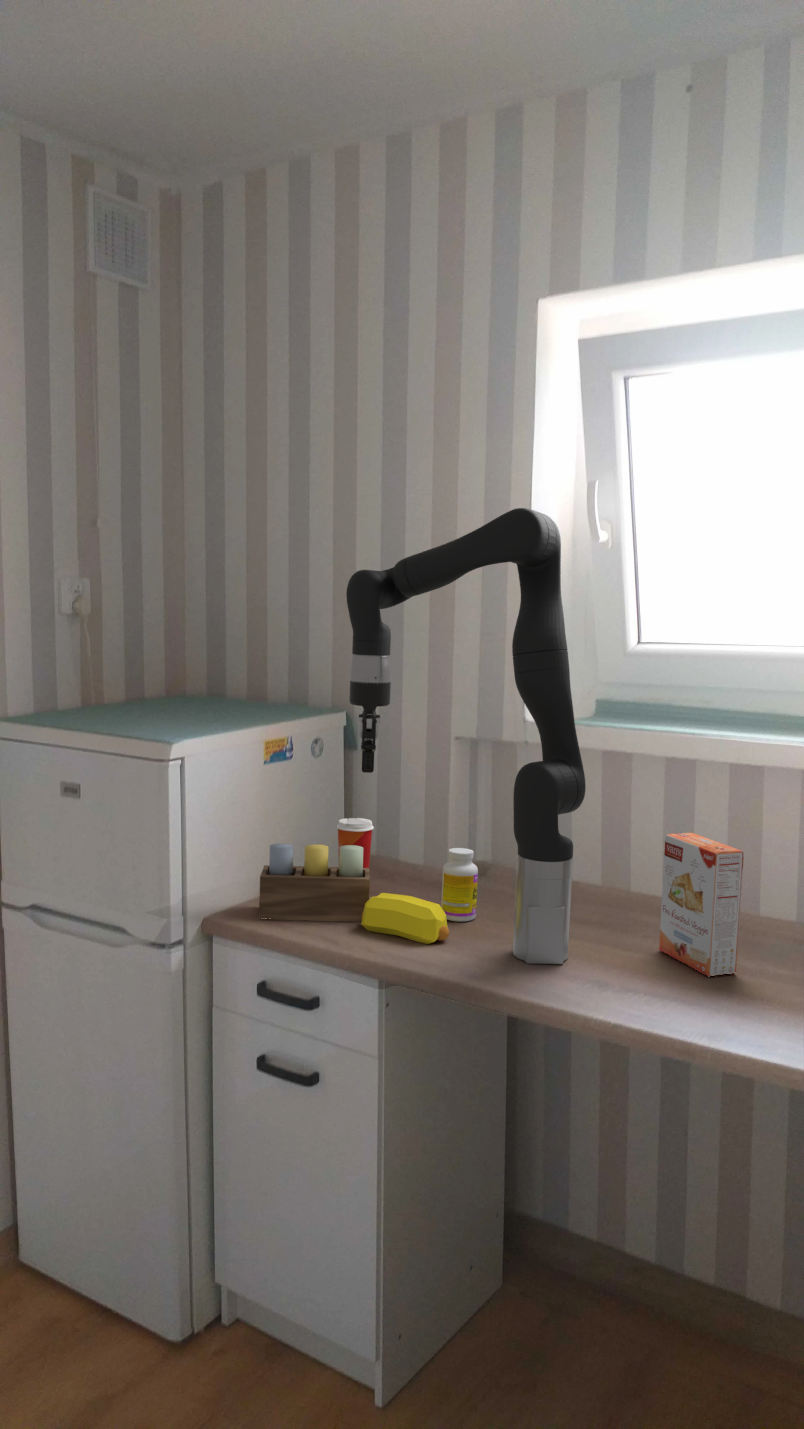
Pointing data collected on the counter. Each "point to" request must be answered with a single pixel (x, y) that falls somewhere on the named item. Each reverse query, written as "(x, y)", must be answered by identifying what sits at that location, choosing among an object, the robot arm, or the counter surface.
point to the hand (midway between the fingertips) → (367, 769)
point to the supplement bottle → (459, 886)
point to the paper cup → (356, 835)
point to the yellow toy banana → (405, 917)
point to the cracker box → (701, 903)
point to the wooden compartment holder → (313, 896)
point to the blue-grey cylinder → (281, 859)
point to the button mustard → (316, 860)
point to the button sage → (351, 861)
